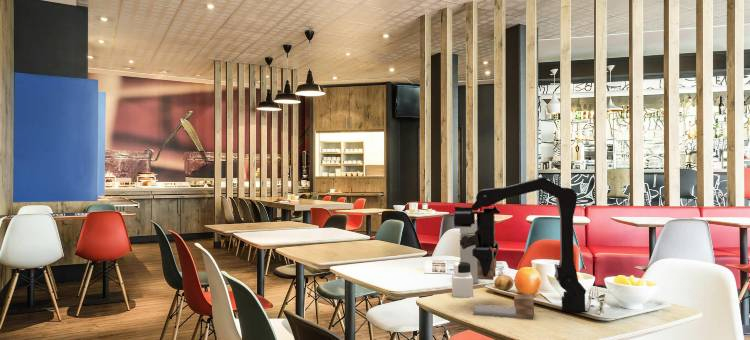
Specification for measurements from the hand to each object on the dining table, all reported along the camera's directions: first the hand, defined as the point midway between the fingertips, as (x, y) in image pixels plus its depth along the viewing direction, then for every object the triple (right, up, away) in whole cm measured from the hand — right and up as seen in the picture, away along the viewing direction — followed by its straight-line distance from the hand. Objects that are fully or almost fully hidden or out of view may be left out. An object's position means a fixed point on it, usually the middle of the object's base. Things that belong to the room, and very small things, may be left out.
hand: (486, 274), depth 168 cm
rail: (+3, -11, -9) cm, 15 cm away
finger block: (0, -1, 0) cm, 1 cm away
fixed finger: (+9, -10, -12) cm, 18 cm away
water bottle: (+3, -12, +41) cm, 42 cm away
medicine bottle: (-5, -12, +20) cm, 24 cm away
